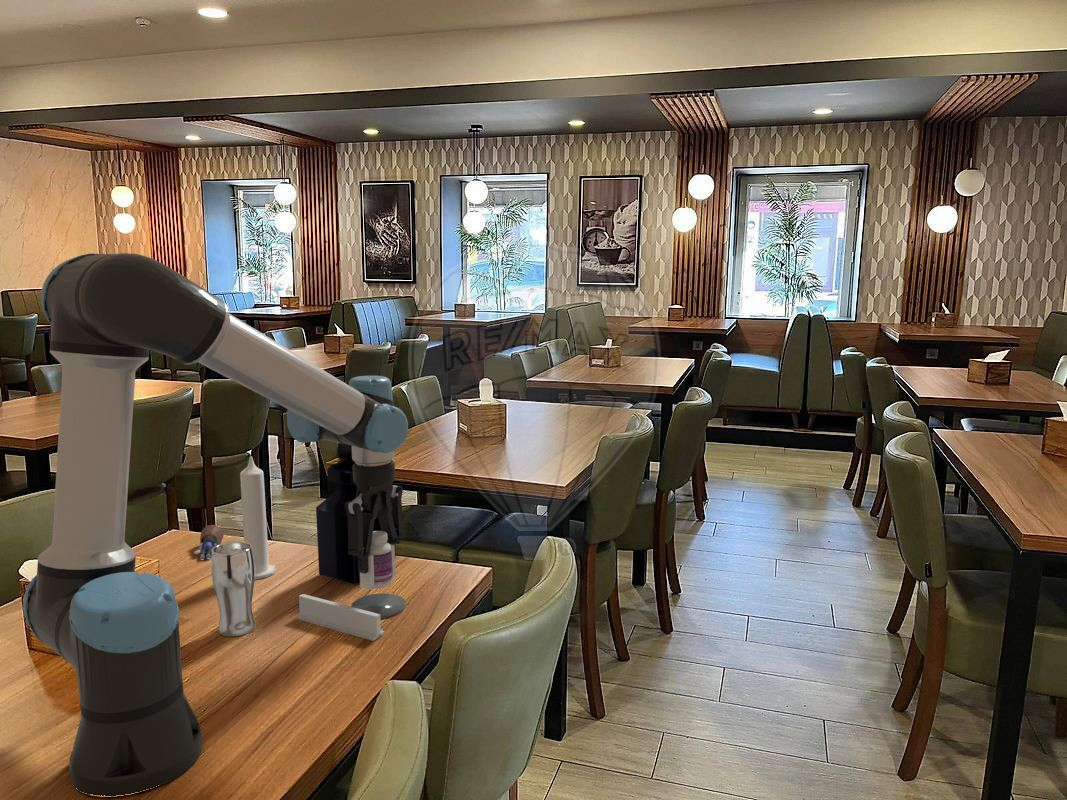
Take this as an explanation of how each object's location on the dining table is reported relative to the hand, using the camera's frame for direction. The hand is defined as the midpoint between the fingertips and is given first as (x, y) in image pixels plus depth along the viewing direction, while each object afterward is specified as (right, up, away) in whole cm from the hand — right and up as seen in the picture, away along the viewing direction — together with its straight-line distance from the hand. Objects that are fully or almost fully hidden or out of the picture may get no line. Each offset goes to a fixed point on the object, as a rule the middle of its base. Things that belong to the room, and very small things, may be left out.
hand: (378, 582), depth 145 cm
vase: (-8, -2, +19) cm, 21 cm away
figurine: (-44, 0, +30) cm, 53 cm away
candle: (-29, -2, +17) cm, 33 cm away
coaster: (0, -5, +1) cm, 5 cm away
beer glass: (-23, -7, -8) cm, 25 cm away
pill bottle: (0, 0, 0) cm, 0 cm away
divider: (-6, -6, -7) cm, 11 cm away
